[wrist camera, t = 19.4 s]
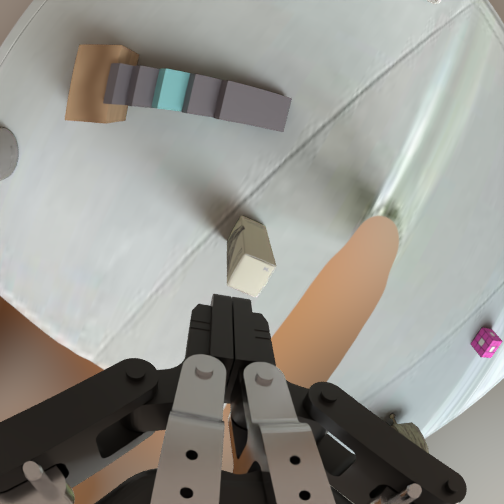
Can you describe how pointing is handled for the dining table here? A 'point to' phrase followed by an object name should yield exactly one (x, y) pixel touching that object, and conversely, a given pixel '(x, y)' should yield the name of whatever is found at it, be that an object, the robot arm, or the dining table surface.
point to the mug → (434, 1)
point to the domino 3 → (170, 89)
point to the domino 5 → (252, 106)
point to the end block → (96, 83)
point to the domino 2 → (142, 86)
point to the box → (249, 257)
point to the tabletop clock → (410, 433)
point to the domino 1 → (117, 84)
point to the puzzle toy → (486, 342)
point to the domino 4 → (201, 95)
